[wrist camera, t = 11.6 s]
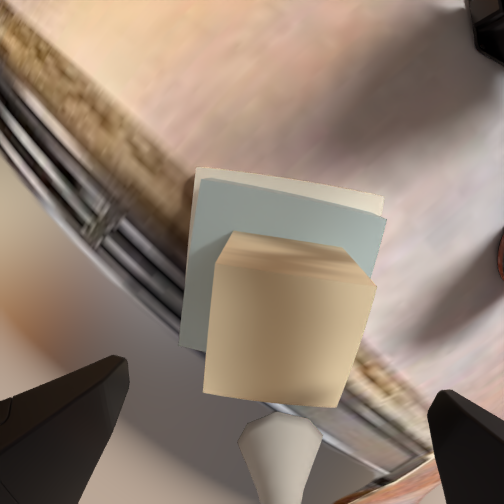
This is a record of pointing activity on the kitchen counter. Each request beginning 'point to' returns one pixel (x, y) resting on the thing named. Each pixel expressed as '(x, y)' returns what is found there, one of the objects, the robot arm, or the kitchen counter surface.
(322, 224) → the top block
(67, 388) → the robot arm
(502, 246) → the supplement bottle
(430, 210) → the kitchen counter surface
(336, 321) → the maple cube
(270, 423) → the flask
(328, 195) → the bottom block
